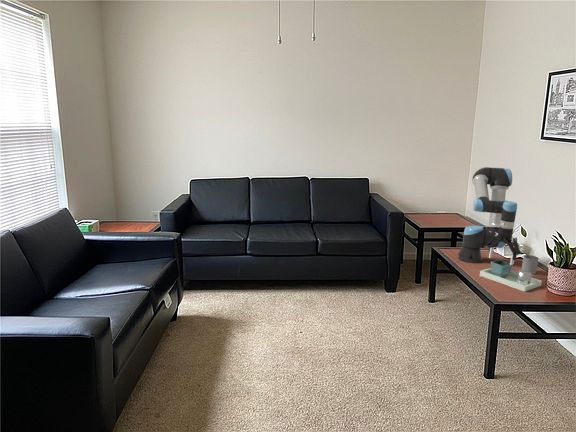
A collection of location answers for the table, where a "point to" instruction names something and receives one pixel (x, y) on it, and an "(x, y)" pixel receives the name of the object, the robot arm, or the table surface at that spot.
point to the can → (523, 277)
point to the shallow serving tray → (511, 280)
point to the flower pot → (500, 268)
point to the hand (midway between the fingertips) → (500, 261)
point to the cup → (530, 263)
